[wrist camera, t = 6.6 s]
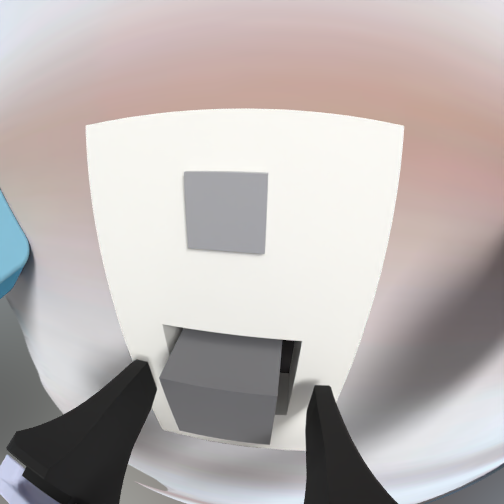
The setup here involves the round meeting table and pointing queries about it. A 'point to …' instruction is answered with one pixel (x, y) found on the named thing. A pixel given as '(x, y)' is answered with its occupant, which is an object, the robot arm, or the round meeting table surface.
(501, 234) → the round meeting table surface
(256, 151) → the white socket board
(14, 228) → the data package
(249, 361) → the plug
